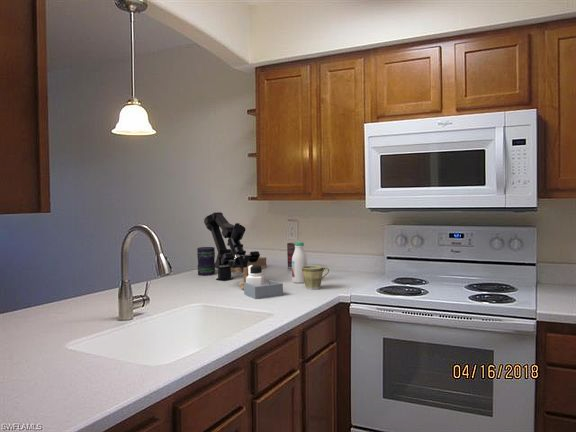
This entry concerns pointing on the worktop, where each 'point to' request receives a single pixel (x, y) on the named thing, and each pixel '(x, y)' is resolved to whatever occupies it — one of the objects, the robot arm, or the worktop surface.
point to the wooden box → (260, 261)
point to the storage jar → (206, 261)
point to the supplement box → (290, 254)
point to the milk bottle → (298, 263)
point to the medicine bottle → (255, 275)
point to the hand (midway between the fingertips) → (246, 271)
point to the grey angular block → (264, 290)
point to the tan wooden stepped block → (244, 277)
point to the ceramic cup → (313, 276)
